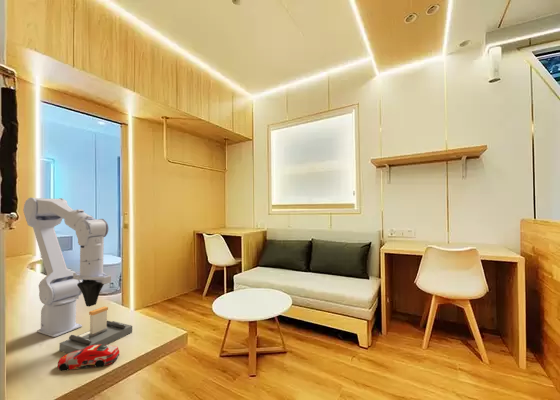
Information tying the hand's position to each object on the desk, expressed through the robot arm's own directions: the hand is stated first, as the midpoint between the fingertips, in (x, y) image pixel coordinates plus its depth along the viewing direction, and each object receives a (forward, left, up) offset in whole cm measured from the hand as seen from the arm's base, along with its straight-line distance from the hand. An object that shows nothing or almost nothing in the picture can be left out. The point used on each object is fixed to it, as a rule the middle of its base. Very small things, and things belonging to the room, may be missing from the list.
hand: (91, 305), depth 78 cm
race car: (+12, -8, -10) cm, 18 cm away
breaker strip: (+3, 0, -10) cm, 10 cm away
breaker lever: (+3, 0, -7) cm, 8 cm away
